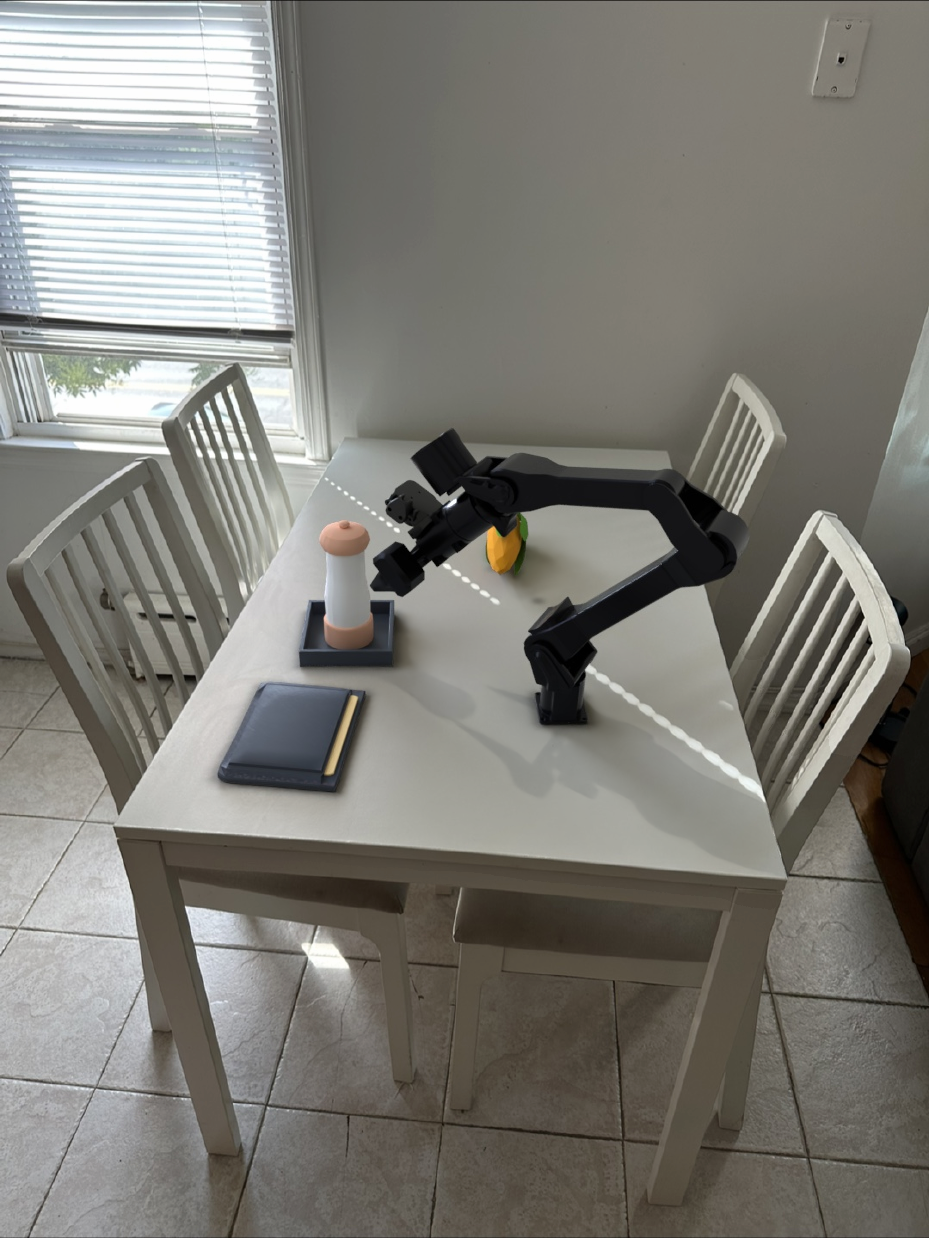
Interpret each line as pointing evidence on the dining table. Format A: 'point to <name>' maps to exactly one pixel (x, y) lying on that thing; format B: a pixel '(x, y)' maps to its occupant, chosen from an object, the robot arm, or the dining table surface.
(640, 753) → the dining table surface
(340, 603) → the pepper shaker
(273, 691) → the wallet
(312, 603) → the tray
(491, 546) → the corn
